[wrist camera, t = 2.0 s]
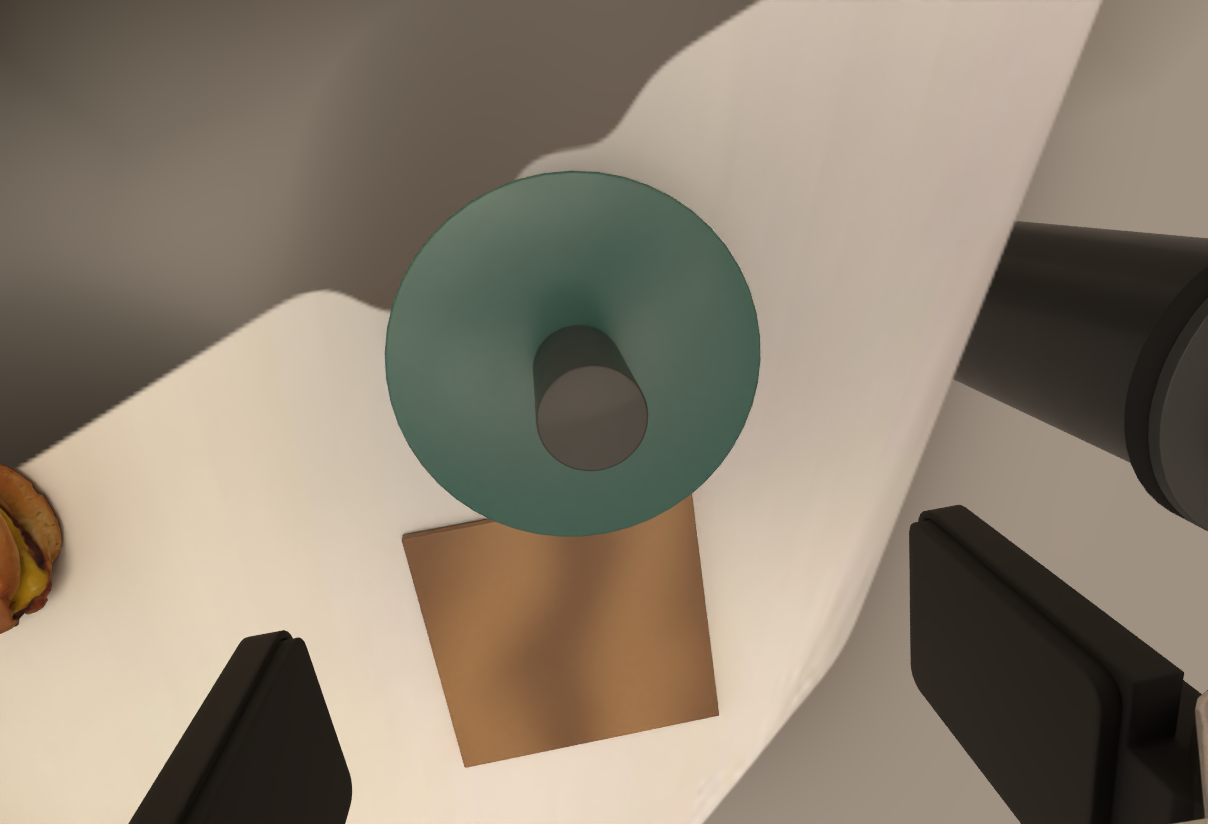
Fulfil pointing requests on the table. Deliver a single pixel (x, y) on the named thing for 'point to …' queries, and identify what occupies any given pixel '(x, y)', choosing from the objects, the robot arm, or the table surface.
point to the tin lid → (572, 353)
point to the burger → (24, 548)
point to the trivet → (564, 632)
